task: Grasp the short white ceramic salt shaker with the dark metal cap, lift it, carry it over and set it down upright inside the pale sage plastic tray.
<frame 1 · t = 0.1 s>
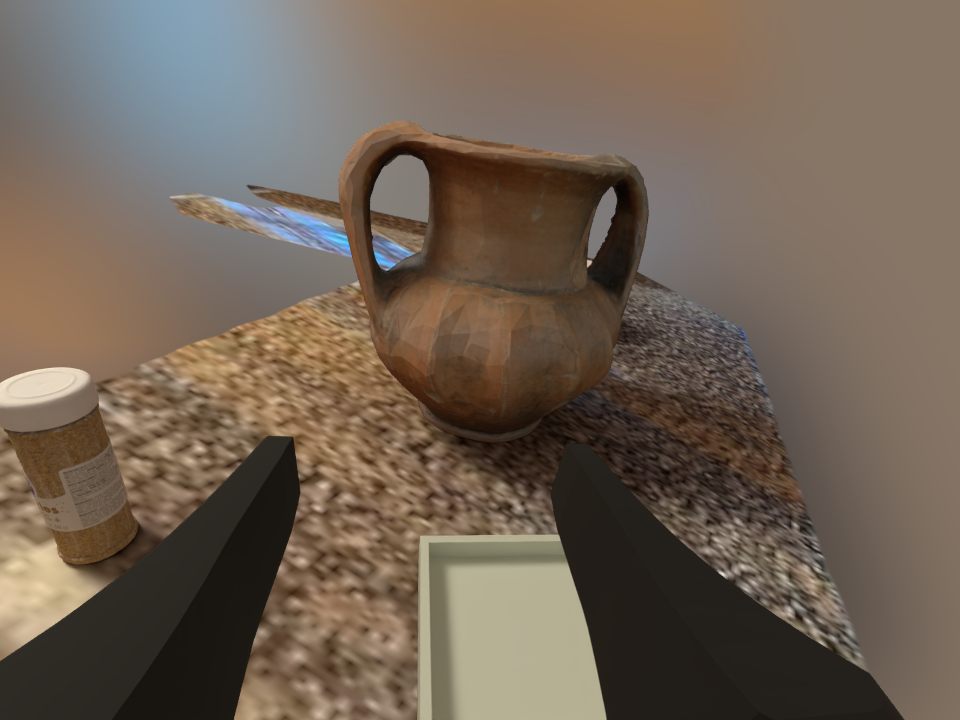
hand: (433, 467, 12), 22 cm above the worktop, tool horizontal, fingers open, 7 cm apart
tray: (542, 663, 28), on the worktop
sprinkles bottle: (102, 542, 32), on the worktop
jug: (482, 401, 55), on the worktop
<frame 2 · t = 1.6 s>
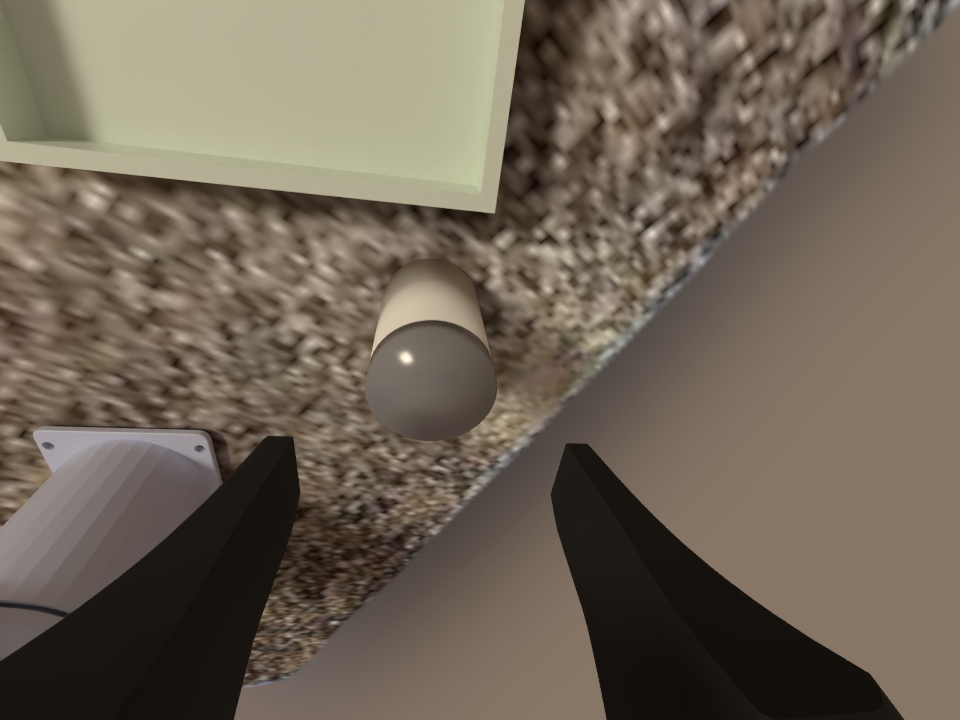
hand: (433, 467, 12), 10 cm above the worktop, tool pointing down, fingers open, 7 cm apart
shaker: (430, 303, 21), on the worktop
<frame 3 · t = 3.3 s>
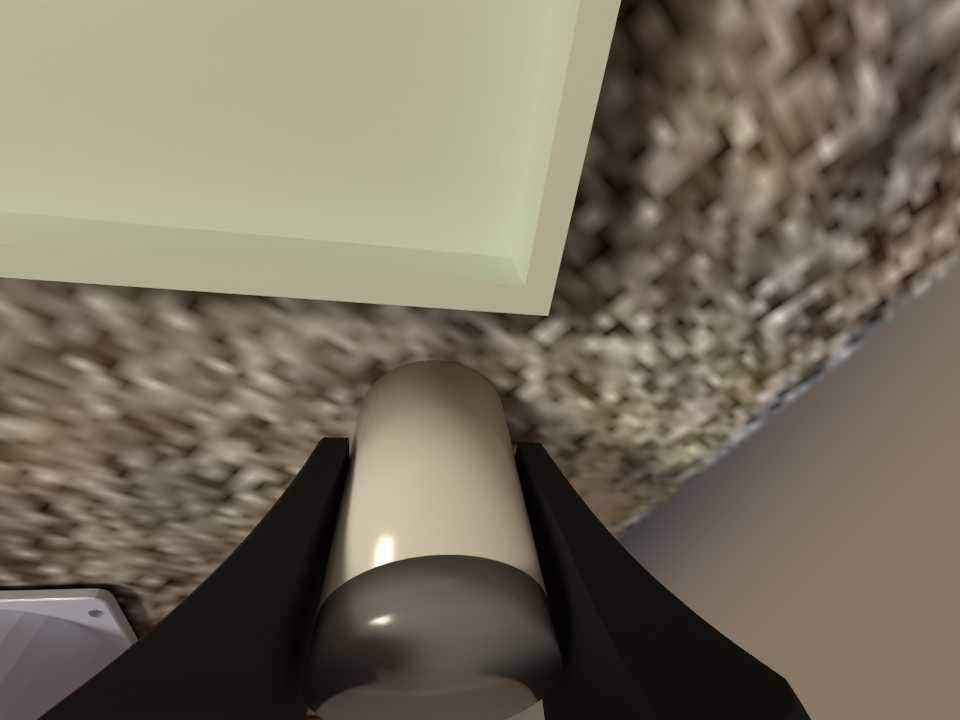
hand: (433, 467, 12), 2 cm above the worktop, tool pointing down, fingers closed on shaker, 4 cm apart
shaker: (432, 420, 13), on the worktop, touching gripper
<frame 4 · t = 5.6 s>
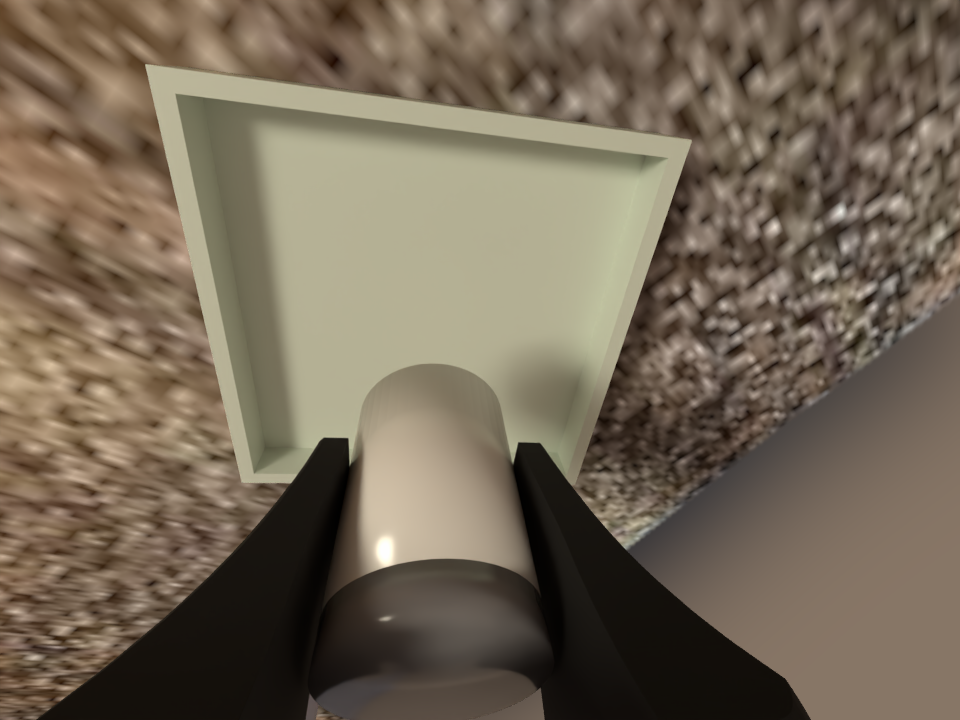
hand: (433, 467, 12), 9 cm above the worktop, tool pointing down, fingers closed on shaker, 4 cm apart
tray: (427, 312, 19), on the worktop
shaker: (432, 421, 14), point 7 cm above the worktop, touching gripper
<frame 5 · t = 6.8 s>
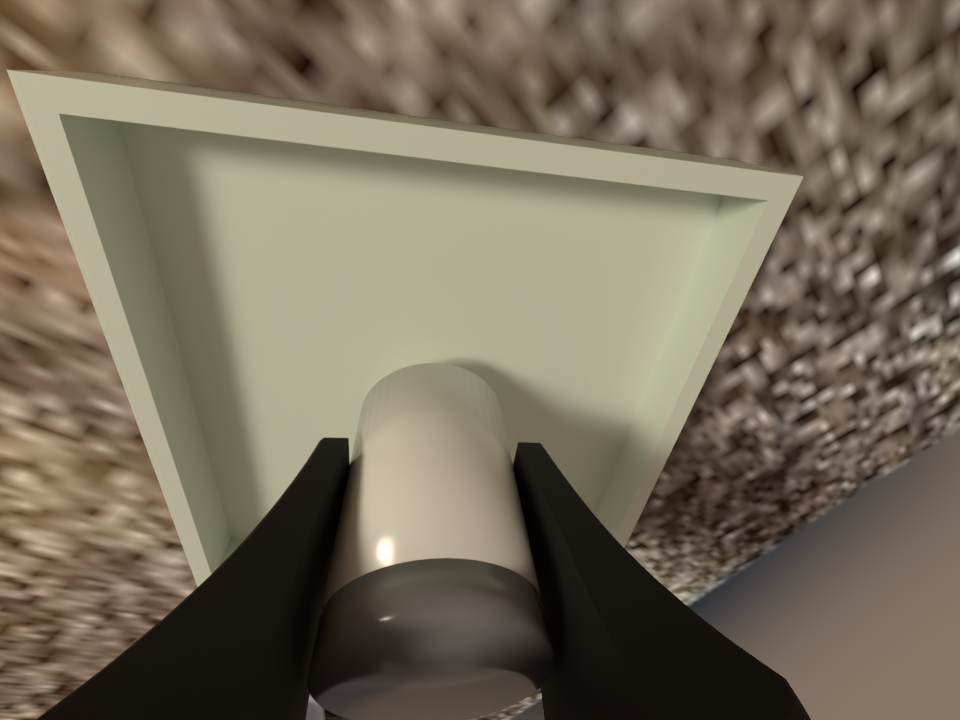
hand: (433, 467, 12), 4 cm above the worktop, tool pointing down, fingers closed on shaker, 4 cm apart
tray: (432, 381, 15), on the worktop
shaker: (432, 421, 14), point 2 cm above the worktop, touching gripper
when the fingers open (4 cm above the worktop, at t = 7.7 s): shaker stays where it is, resting on tray.
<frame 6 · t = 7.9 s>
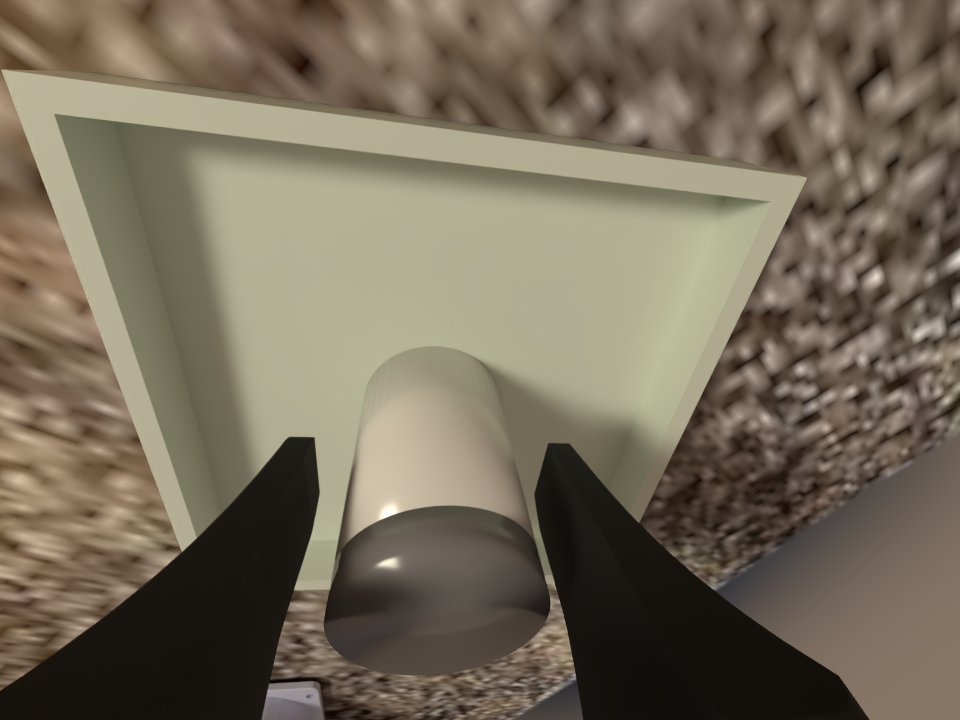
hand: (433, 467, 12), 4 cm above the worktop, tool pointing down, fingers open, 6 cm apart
tray: (432, 383, 15), on the worktop
shaker: (432, 403, 14), point 1 cm above the worktop, touching tray
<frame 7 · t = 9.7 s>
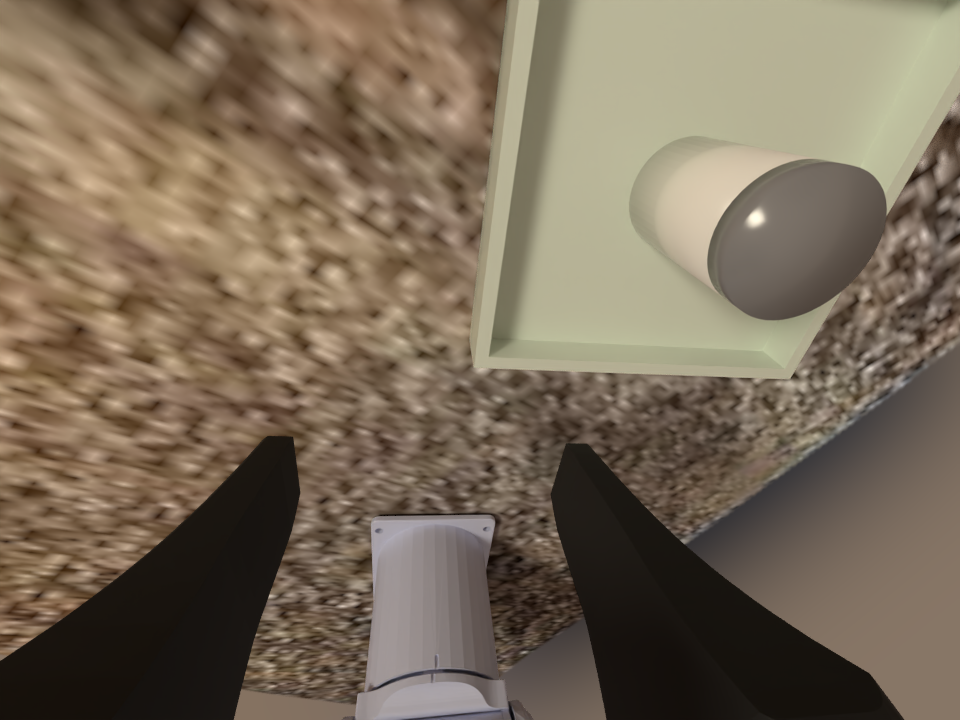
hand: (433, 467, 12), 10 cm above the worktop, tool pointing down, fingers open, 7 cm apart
tray: (673, 185, 19), on the worktop
shaker: (681, 195, 18), point 1 cm above the worktop, touching tray
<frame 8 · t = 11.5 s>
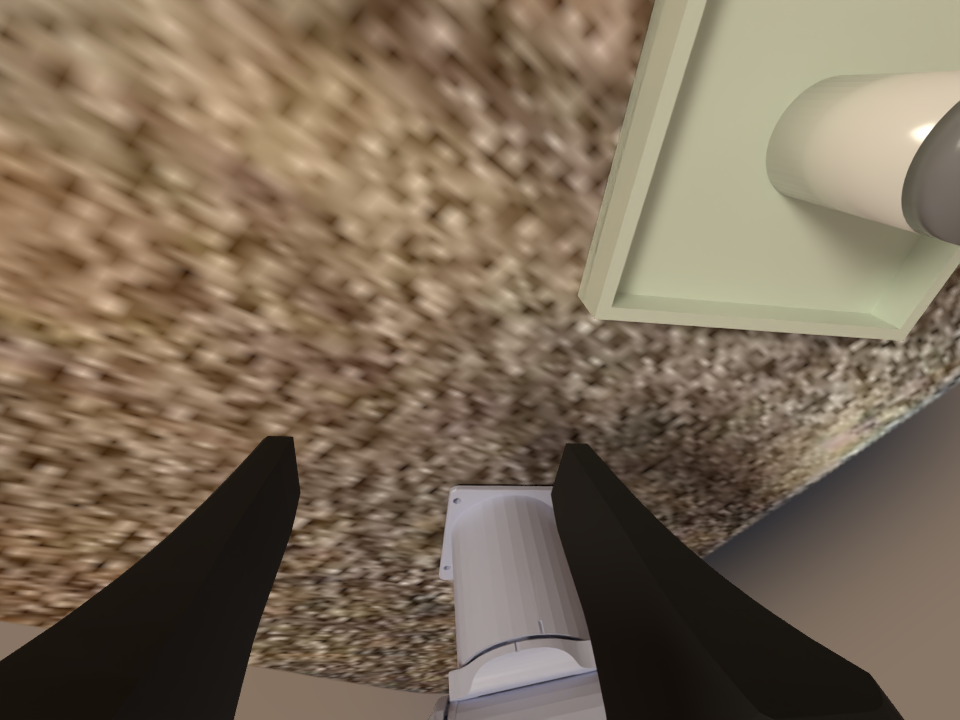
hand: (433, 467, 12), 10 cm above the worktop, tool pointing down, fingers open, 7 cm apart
tray: (807, 132, 18), on the worktop
shaker: (820, 140, 18), point 1 cm above the worktop, touching tray
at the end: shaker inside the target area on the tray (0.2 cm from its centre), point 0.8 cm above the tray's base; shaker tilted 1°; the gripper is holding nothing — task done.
